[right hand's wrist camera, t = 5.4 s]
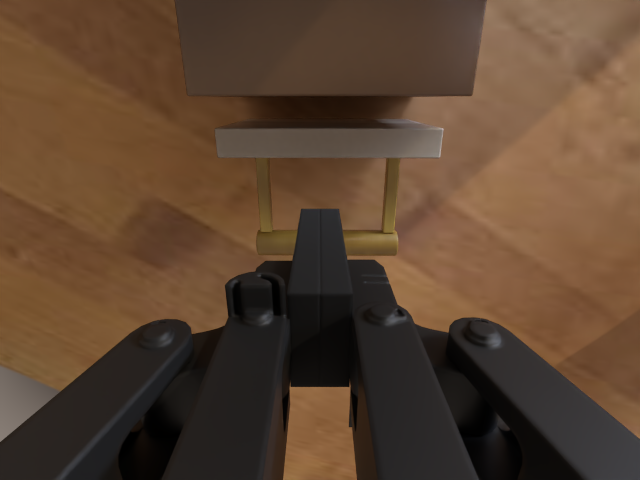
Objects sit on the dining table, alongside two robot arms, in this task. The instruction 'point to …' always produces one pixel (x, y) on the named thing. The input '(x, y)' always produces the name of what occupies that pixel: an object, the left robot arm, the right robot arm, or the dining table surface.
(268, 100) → the dining table surface
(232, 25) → the cabinet
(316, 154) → the drawer
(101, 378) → the right robot arm
